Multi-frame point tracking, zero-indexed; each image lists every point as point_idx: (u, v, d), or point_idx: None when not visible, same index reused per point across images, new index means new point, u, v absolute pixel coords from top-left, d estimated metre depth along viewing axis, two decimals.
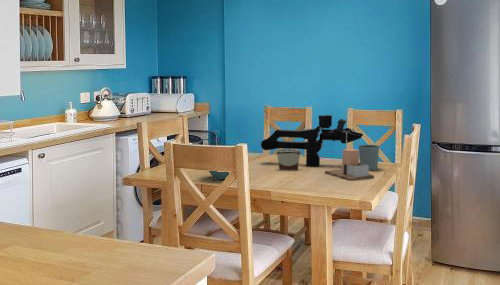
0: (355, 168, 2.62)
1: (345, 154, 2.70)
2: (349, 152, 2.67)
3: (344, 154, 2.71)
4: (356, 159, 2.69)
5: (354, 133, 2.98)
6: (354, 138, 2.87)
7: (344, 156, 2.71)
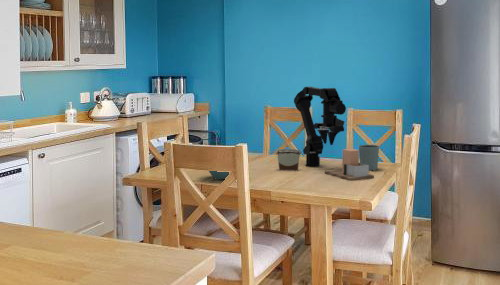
0: (355, 168, 2.62)
1: (345, 154, 2.70)
2: (349, 152, 2.67)
3: (344, 154, 2.71)
4: (356, 159, 2.69)
5: (326, 135, 2.89)
6: (331, 138, 2.82)
7: (344, 156, 2.71)
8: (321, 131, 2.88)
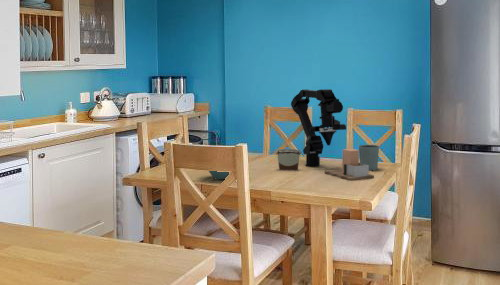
0: (355, 168, 2.62)
1: (345, 154, 2.70)
2: (349, 152, 2.67)
3: (344, 154, 2.71)
4: (356, 159, 2.69)
5: None
6: (329, 138, 2.85)
7: (344, 156, 2.71)
8: (324, 133, 2.85)
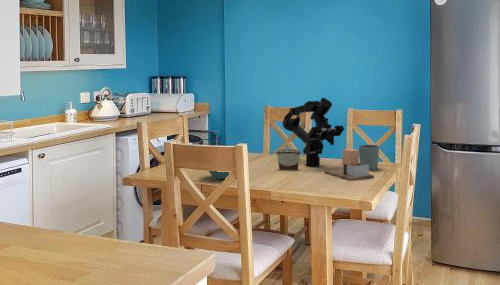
0: (355, 168, 2.62)
1: (345, 154, 2.70)
2: (349, 152, 2.67)
3: (344, 154, 2.71)
4: (356, 159, 2.69)
5: None
6: None
7: (344, 156, 2.71)
8: None
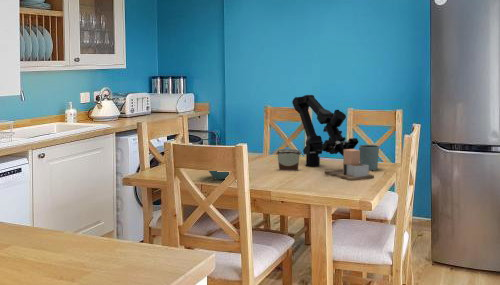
0: (355, 168, 2.62)
1: (345, 154, 2.70)
2: (350, 152, 2.67)
3: (345, 154, 2.70)
4: (357, 159, 2.68)
5: None
6: None
7: (345, 156, 2.70)
8: None
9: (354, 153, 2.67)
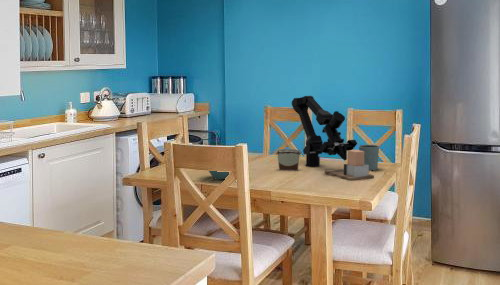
0: (355, 168, 2.62)
1: (350, 155, 2.67)
2: (354, 153, 2.64)
3: (349, 155, 2.67)
4: (361, 160, 2.65)
5: None
6: None
7: (349, 157, 2.67)
8: None
9: (358, 154, 2.64)
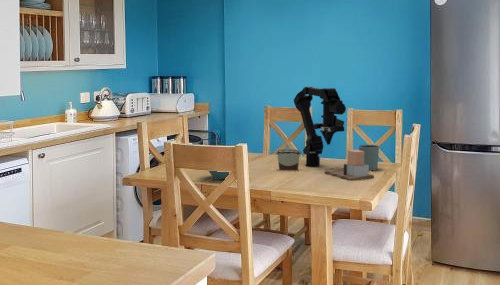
0: (355, 168, 2.62)
1: (350, 155, 2.67)
2: (354, 153, 2.64)
3: (349, 155, 2.67)
4: (361, 160, 2.65)
5: None
6: (328, 138, 2.84)
7: (349, 157, 2.67)
8: (324, 132, 2.85)
9: (358, 154, 2.64)
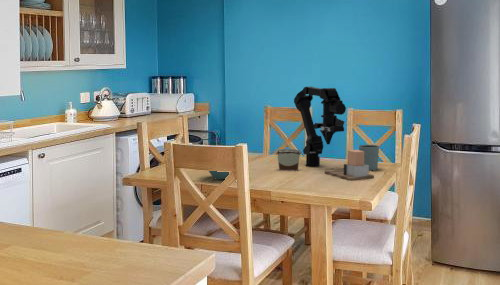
0: (355, 168, 2.62)
1: (350, 155, 2.67)
2: (354, 153, 2.64)
3: (349, 155, 2.67)
4: (361, 160, 2.65)
5: None
6: (328, 137, 2.84)
7: (349, 157, 2.67)
8: (324, 132, 2.85)
9: (358, 154, 2.64)
